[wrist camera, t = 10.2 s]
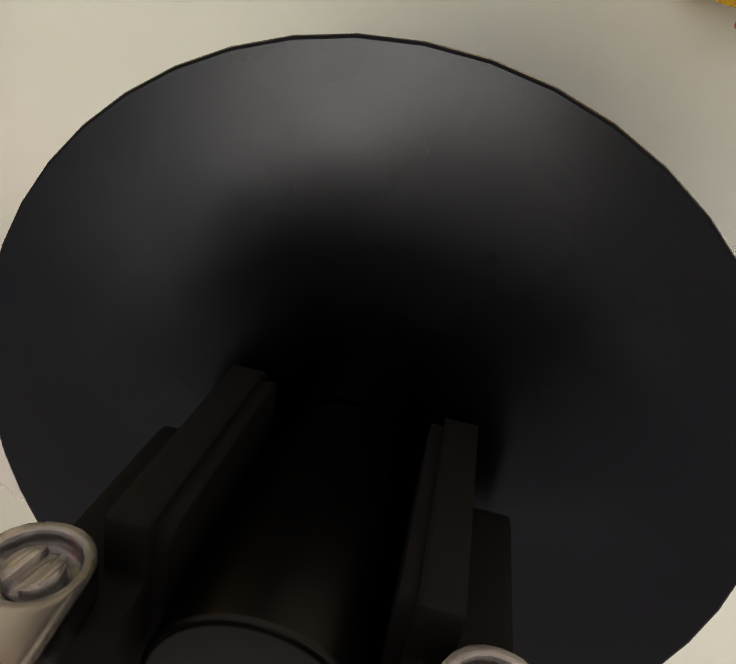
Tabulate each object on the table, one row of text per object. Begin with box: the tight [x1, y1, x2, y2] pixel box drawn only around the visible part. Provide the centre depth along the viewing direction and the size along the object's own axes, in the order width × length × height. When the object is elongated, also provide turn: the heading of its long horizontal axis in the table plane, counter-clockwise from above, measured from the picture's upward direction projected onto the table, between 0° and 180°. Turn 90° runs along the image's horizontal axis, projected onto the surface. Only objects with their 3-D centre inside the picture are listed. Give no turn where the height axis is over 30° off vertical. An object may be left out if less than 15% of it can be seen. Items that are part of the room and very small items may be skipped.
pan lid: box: [0, 33, 736, 664], centre depth 9 cm, size 13×13×6 cm
